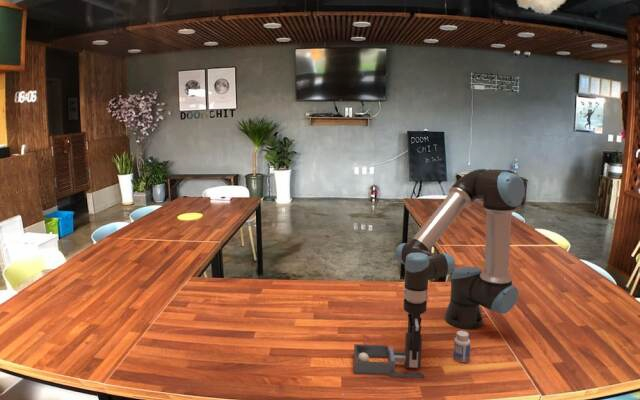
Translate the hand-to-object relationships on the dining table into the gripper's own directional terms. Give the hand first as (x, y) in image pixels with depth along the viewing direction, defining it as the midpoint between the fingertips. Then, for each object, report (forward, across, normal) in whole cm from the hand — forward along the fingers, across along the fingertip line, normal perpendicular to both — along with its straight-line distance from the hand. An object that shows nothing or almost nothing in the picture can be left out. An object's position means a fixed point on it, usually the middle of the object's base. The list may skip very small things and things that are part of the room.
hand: (412, 362), depth 152 cm
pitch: (+1, 0, -9) cm, 9 cm away
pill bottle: (+1, -6, +18) cm, 19 cm away
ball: (-1, 0, -17) cm, 17 cm away
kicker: (+1, 0, -3) cm, 3 cm away
